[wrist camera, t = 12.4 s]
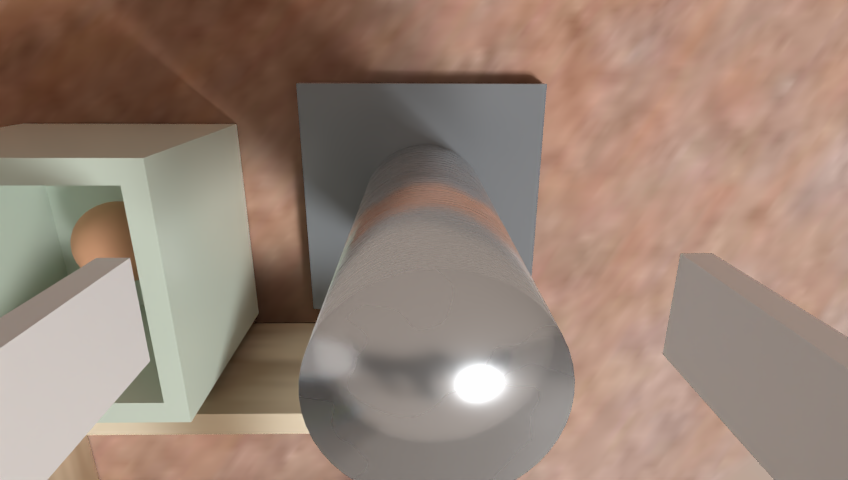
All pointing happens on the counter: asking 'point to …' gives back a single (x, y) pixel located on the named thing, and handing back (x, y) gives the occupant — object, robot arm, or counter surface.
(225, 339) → the square storage bin
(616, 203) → the counter surface
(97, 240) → the fully visible ball
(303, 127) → the coaster
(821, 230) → the counter surface
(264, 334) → the crate
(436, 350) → the tin can
